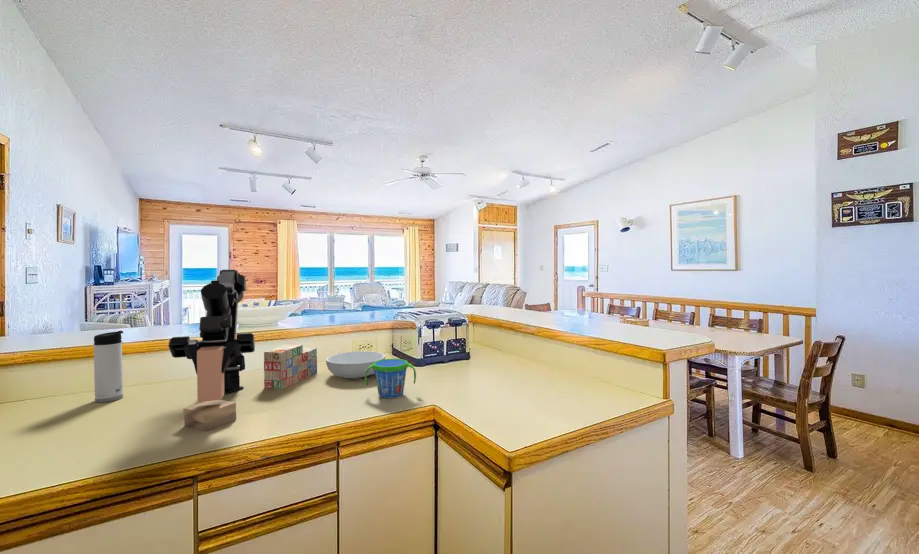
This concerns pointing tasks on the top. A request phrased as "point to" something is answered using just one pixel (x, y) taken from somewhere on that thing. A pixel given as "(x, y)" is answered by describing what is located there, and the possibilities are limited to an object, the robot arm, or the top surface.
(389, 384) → the snack cup
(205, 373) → the pillar
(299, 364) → the stack of blocks
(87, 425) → the top surface
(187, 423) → the tower base
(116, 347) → the travel mug
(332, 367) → the serving bowl
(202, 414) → the tower top
